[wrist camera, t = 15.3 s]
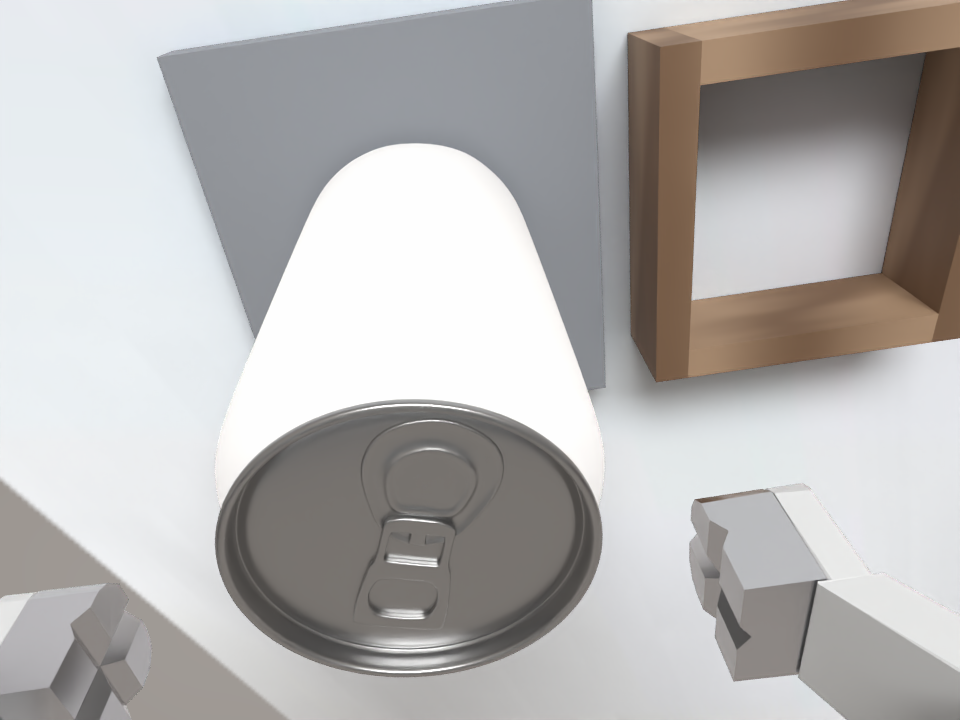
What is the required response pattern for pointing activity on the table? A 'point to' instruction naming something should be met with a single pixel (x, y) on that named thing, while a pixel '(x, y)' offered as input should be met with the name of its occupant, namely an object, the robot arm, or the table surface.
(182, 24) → the table surface
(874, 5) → the square wooden frame
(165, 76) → the coaster
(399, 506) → the can
